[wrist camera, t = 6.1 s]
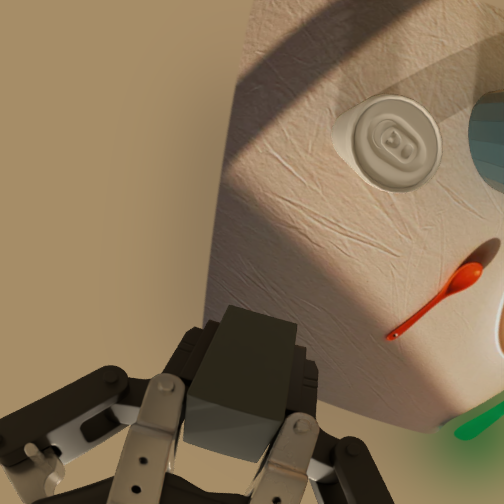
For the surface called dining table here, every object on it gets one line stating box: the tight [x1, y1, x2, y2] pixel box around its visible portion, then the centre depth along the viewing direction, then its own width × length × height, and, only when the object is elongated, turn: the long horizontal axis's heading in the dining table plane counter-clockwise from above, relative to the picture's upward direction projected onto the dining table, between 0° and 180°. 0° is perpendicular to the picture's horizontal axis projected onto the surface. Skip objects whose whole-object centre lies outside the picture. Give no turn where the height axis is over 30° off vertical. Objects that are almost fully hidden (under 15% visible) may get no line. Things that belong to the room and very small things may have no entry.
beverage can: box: [331, 94, 443, 193], centre depth 17 cm, size 5×5×12 cm
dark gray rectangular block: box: [183, 305, 297, 463], centre depth 11 cm, size 3×4×5 cm
